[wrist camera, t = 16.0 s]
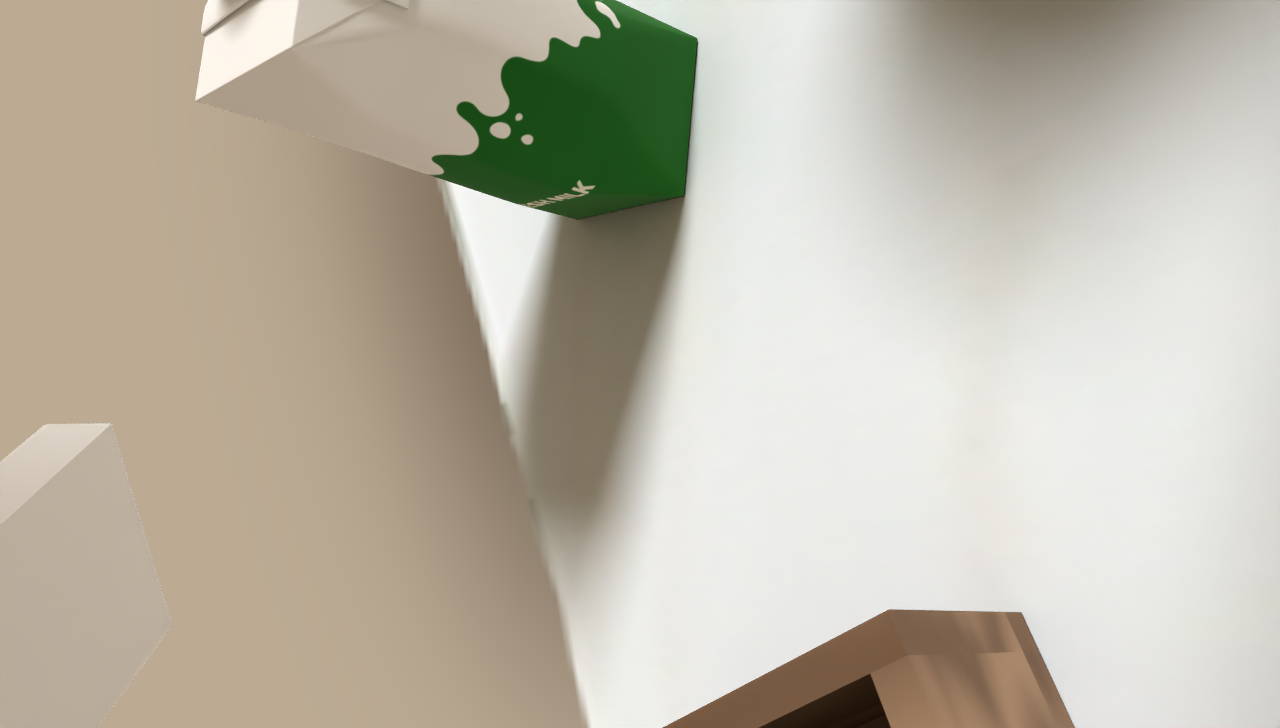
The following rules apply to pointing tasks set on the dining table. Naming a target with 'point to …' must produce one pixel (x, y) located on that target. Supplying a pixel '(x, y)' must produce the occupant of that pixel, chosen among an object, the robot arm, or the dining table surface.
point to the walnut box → (903, 679)
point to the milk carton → (470, 90)
